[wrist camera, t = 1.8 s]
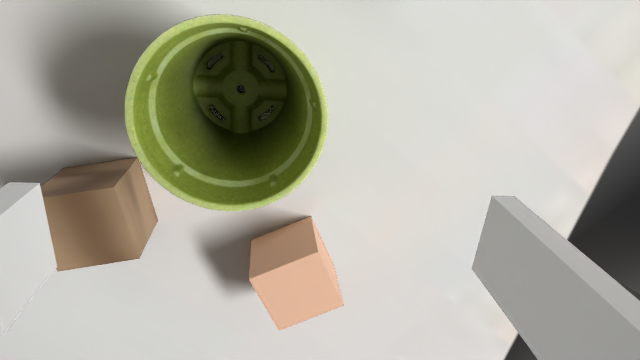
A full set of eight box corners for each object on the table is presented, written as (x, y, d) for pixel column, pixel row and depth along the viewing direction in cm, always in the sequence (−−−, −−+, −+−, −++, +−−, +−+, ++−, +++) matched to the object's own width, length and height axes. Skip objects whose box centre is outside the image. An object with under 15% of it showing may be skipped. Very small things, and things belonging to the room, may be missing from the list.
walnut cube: (89, 230, 30) (57, 271, 26) (63, 167, 28) (24, 200, 24) (158, 219, 31) (139, 258, 26) (138, 156, 29) (113, 187, 24)
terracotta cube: (277, 286, 34) (279, 330, 30) (251, 239, 32) (248, 279, 28) (333, 263, 34) (343, 305, 29) (311, 215, 32) (318, 251, 27)
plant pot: (134, 86, 27) (79, 124, 19) (234, -26, 25) (219, -37, 17) (244, 178, 30) (237, 243, 22) (339, 86, 28) (368, 121, 20)
